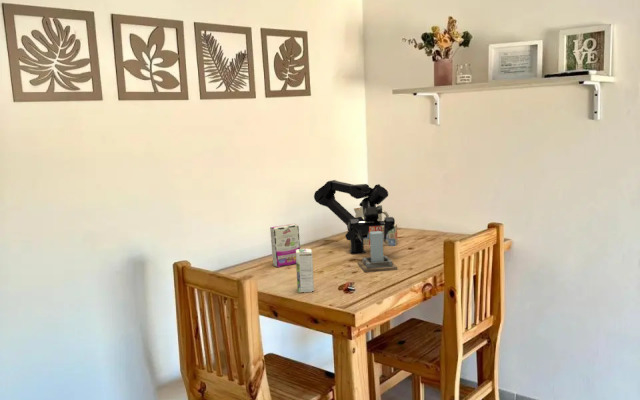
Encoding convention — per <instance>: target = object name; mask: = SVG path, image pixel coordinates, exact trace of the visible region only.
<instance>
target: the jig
mask: <svg viewBox="0 0 640 400" xmlns="http://www.w3.org/2000/svg"><path fill="white" fill-rule="evenodd" d="M383 256H384V262H373V263H371V256H366V257H364V256H363V257H362V258H361V259H362V261H358V262H357V263H358V266H359V267H360V269H361V270H362V272H363V273H376V272H388V271H398V266H397V265H396V264H394V262H393V260H392V259H390V258H389V257H388V256H387V255H383Z"/></svg>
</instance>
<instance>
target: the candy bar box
mask: <svg viewBox="0 0 640 400" xmlns="http://www.w3.org/2000/svg"><path fill="white" fill-rule="evenodd" d="M269 229H270V243H271V253H272V255H271V256H272V266H273V267H276V268H282V267H287V266H292V265H296V250H297V249H301V244H300V232H299V231H300V228H299V225H298V224H296V223H290V224H284V225H278V226H271V227H270V228H269Z"/></svg>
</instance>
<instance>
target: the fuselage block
mask: <svg viewBox="0 0 640 400" xmlns="http://www.w3.org/2000/svg"><path fill="white" fill-rule="evenodd" d="M369 247H370V257H371V263H373V262H384V256H385V255H384V245H383V233H382V232H381V231H374V232H370V245H369Z"/></svg>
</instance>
